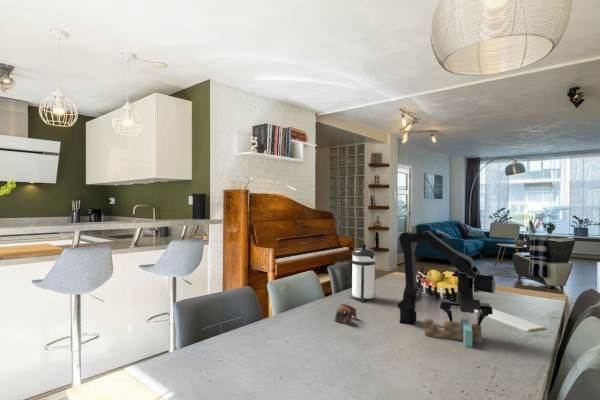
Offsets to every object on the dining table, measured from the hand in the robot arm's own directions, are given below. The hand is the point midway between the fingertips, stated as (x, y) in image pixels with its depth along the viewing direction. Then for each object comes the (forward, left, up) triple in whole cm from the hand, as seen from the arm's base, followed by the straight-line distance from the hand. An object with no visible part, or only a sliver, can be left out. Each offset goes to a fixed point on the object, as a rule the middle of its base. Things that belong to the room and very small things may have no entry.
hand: (464, 327), depth 139 cm
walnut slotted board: (-5, -5, -3) cm, 7 cm away
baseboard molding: (+19, +29, -4) cm, 35 cm away
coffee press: (-47, +38, -3) cm, 61 cm away
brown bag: (-48, 0, -3) cm, 48 cm away
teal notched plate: (0, -5, -3) cm, 5 cm away
